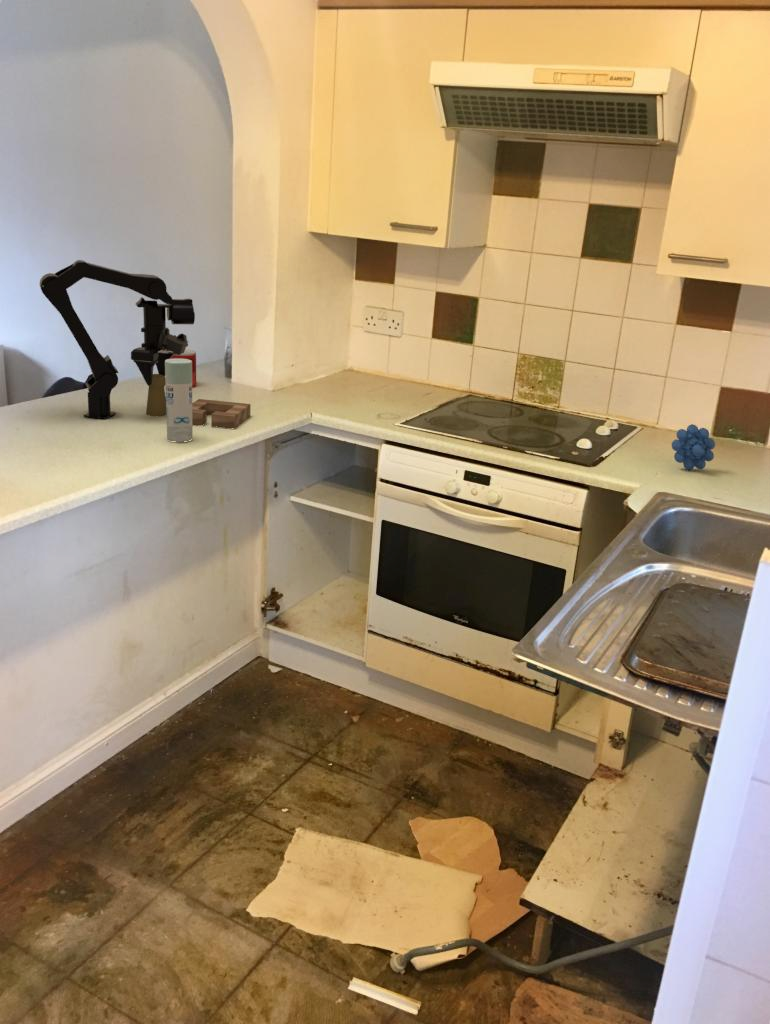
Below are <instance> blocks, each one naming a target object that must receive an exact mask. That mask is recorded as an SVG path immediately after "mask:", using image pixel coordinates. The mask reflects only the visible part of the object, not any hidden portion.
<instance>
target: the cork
mask: <svg viewBox="0 0 770 1024" xmlns="http://www.w3.org/2000/svg"><path fill="white" fill-rule="evenodd" d="M147 386H148V389H147V391H148V392H147V400H146V401H147V402H146V408H145V409H146V411H145V412H146V413H145V415H146V414H147V416H149V415H150V416H149V417H156V416H158V417H166V416H165V415H166V388H165V387H166V383H165V376H163V375H161V374H159V373H153V377H152V384H151V385H147Z"/></svg>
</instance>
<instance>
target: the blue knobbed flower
mask: <svg viewBox="0 0 770 1024" xmlns="http://www.w3.org/2000/svg"><path fill="white" fill-rule="evenodd" d="M676 438H677V439H674V440H673V441H672V442H671V449H672V450H673V451H674V452H675V453H674V455H673V456H674V460H675V462H676V463H680V464H683V467H684V469H686V470H688V471H691V470H693V469H694V468H696V469H698V470H703V469H705V468H706V465H707V463H706V462H711V461H712V460H714V457H715V454H714V452H713V451H712V450H713V449H715V447H716V441H715V440H714V439H713V438H711V437H710V432H709V429H707V428H706V427H705V428H704V427H700V428H698V426H697V425H696V424H693V423H692V424H689V425H688V426H686V429H684V428H680V429H678V430H677V432H676Z"/></svg>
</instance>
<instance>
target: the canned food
mask: <svg viewBox="0 0 770 1024" xmlns="http://www.w3.org/2000/svg"><path fill="white" fill-rule="evenodd" d="M171 352H172V351H171ZM173 358H181V359H188V360H191V361H192V387H193V388H195V387H196V385H197V352H196V350H194V349H187V348H185V351H184V353H182V354H180V355H176V354H175V355H174V356H173V357H171V358H170V359H173Z"/></svg>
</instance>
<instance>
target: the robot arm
mask: <svg viewBox="0 0 770 1024" xmlns="http://www.w3.org/2000/svg"><path fill="white" fill-rule="evenodd" d="M85 278H86V279H90V280H95V281H97V282H102V283H106V284H111V285H114V286H118V287H120V288H121V287H122V288H126V289H129V290H131V291H134V292H135V293H138V294H140V295H143V296H144V297H146V298H149V299H151V300H147V299H145V298H144V297H142V296H141V297H140V298H139V300H137V301H136V302H135V306H136V307H138V308H142V309H143V310H142V311H143V312H142V313H143V314H142V315H143V327H141V328H140V332H141V333H143V342H142V343H141V346H138V347H137V348H134V349H132V350H131V352H130V360H132V361H133V363H135V365H136V367H137V368H138V370H139V372H140V373H141V375H142V378H143V380H144V381H145V384H146V385H147V386H148V385H151V384H152V377H153V374H154V366H156V369H157V374H161V375H163V376H165V360H167V359H170V358H171V357H173V356H174V355H175V354H176V355H180V354H182V353H184V351H185V349H187V347H188V346H189V344H188V343H189V341H188V337H187V335H186V334H184V333H182V332H181V333H179V334H178V335H177V336H176V335H173V334H171V333H170V328H169V327H167V325H166V324H167V323H166V319H167V321H170V323H171V324H172V325H194V324H195V319H196V317H195V315H196V313H195V309H194V304H193V299H192V298H183V299H182V298H181V299H179V298H178V299H177V298H173V297H172V296H171V295H170V294H169V293H168V291H167V285H166V283H165V281H164V280H163V279H162V278H160V277H159V276H157V275H154V274H146V273H145V274H143V273H128V272H125V271H122V270H117V269H113V268H109V267H106V266H103V265H98V264H95V263H91V262H87V261H85V260H82V259H78V260H76V261H74V262H73V263H72V264H70V265H68V266H66V267H64V268H62V269H60V270H58V271H57V272H55V273H51V272H49V273H46V274H44V275H42V276H41V278H40V280H39V288H40V290H41V293H42V294H43V296H45V298H46V299H47V300H48V301H49V302H50V304H51V305H52V306H53V308H55V309H56V311H58V313H59V314H60V315H61V317H62V319H63V321H64V323H65V324H66V326H67V328H68V329H69V331H70V333H71V334H72V336H73V338H74V340H75V341H76V343H77V344H78V345H79V348H80V350H81V351H82V352H83V355H84V357H85V358H86V360H87V363H88V365H89V368H90V371H91V374H92V376H90V378H89V379H87V381H85V386H86V388H87V391H88V392H87V404H88V405H87V406H88V407H87V408H88V412H86V413H84V414H83V415H82V416H83V417H84V418H93V419H101V420H102V419H103V420H107V419H109V418H111V417H112V416H114V415H117V412H115V411H112V410H111V393H112V390H113V389H115V388H116V386H118V383H119V377H118V373H119V371H118V369H117V367H116V366H115V365H114V363H113V361H112V359H111V358H110V356H109V355H106V356H105V357H104V356H103V355H102V354H101V353H100V352H99V350H98V348H97V347H96V345H95V343H94V341H93V339H92V338H91V336H90V334H89V333H88V331H87V330H86V328H85V326H84V324H83V323H82V320H81V319H80V317H79V315H78V314H77V312H76V310H75V309H74V306H73V305H72V301H71V298H70V295H69V293H68V290H67V289H69V288H71V287H72V286H73V285H76V283H78V282H79V281H80V280H82V279H85ZM159 300H160V301H161V302H163V304H162V303H158V301H159ZM171 351H172V352H171Z"/></svg>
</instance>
